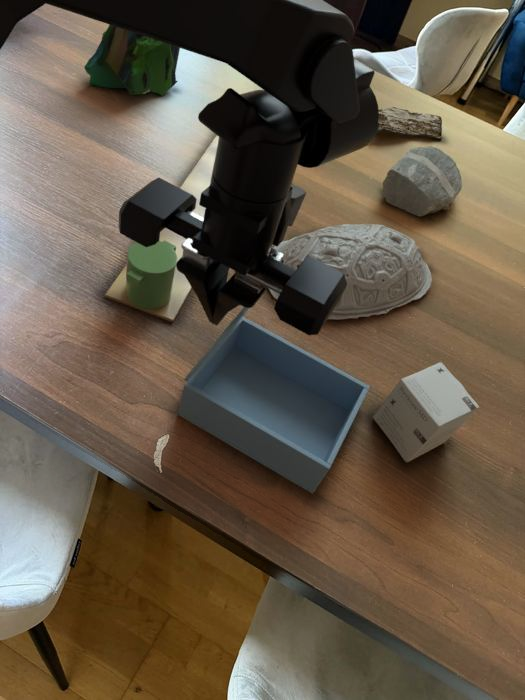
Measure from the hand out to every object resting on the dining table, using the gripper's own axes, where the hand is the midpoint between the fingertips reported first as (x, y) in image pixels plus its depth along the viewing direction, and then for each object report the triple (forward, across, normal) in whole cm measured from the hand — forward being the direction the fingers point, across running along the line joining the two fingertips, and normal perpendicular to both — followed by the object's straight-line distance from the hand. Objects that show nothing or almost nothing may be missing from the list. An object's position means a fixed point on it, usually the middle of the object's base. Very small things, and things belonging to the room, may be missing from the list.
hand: (215, 320), depth 53 cm
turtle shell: (+9, -7, -26) cm, 28 cm away
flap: (-1, -2, 0) cm, 2 cm away
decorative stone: (+9, -9, -51) cm, 53 cm away
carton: (+8, -8, 0) cm, 12 cm away
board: (+9, +14, -23) cm, 28 cm away
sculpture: (+9, +39, -43) cm, 59 cm away
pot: (+8, +11, -6) cm, 15 cm away
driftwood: (+9, +3, -67) cm, 68 cm away
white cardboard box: (+9, -22, -7) cm, 24 cm away
